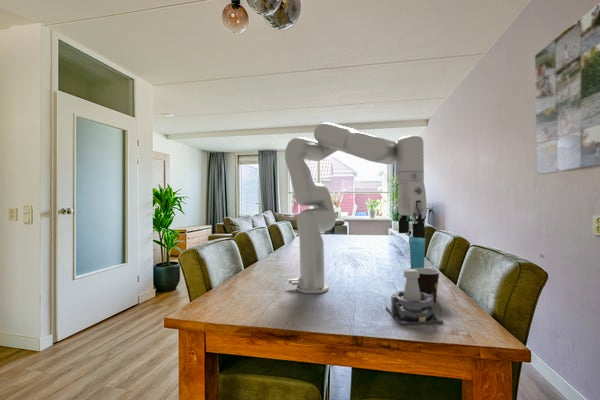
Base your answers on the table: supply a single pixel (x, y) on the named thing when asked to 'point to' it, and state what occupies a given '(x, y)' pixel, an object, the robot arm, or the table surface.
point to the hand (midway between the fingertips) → (410, 235)
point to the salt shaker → (412, 288)
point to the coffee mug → (428, 281)
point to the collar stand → (417, 316)
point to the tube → (417, 252)
